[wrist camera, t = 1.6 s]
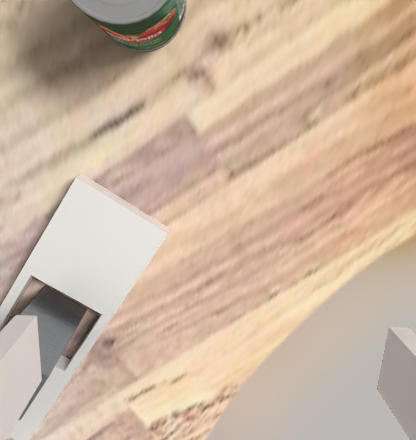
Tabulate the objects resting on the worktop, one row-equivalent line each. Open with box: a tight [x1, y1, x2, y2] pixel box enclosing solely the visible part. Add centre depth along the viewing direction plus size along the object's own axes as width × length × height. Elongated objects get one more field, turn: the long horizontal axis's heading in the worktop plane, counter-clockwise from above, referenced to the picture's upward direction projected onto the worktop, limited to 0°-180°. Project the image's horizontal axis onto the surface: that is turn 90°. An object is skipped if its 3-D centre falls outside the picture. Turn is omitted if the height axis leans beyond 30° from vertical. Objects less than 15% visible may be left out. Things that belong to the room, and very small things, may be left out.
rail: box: [0, 174, 169, 440], centre depth 40 cm, size 10×30×2 cm, turn 146°
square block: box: [19, 286, 87, 420], centre depth 36 cm, size 5×5×11 cm
